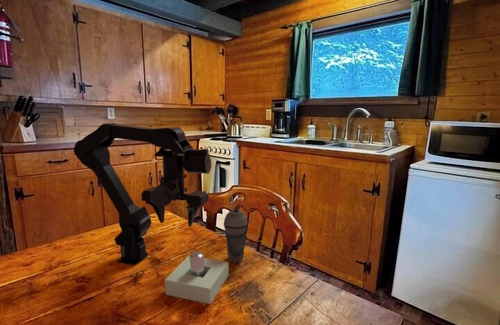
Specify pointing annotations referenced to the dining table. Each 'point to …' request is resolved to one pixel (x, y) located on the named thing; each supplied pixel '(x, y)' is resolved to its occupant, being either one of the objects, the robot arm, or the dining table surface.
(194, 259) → the peg
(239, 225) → the beverage cup
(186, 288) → the socket block
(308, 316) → the dining table surface
